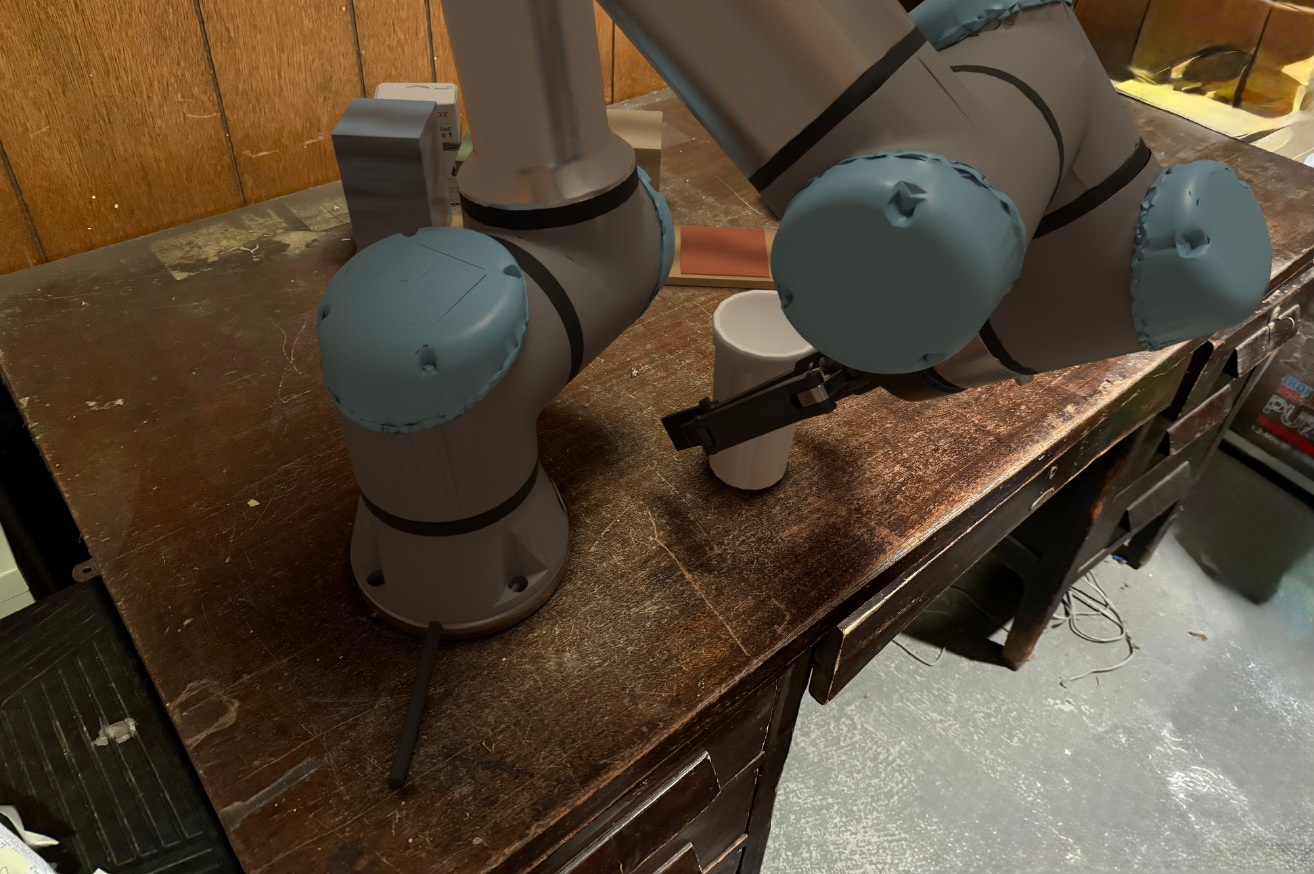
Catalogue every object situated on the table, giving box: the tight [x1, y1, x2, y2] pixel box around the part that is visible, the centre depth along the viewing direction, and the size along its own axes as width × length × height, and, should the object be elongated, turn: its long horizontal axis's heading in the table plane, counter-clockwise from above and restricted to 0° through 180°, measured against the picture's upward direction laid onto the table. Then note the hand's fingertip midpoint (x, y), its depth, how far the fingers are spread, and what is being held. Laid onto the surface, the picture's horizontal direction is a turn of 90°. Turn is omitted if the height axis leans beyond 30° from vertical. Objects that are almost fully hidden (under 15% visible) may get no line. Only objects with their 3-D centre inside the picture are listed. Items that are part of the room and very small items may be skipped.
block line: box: [330, 97, 777, 290], centre depth 88 cm, size 10×44×14 cm, turn 89°
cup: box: [708, 289, 816, 491], centre depth 67 cm, size 8×8×14 cm
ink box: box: [373, 82, 464, 205], centre depth 97 cm, size 9×5×12 cm, turn 98°
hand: (731, 394), depth 69 cm, fingers open, 12 cm apart
